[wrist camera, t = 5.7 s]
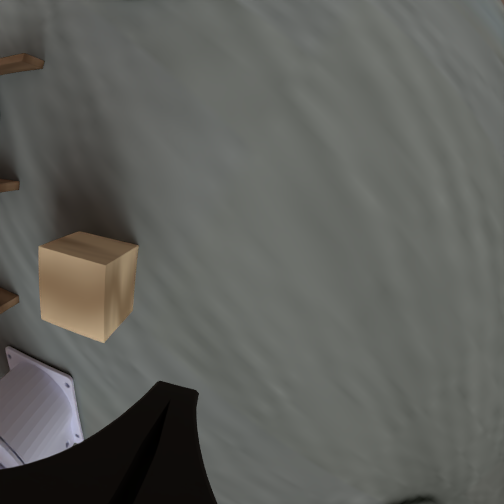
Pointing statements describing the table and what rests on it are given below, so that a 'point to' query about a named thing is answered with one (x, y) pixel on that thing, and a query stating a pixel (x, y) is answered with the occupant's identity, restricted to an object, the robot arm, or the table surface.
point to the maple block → (87, 283)
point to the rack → (11, 64)
